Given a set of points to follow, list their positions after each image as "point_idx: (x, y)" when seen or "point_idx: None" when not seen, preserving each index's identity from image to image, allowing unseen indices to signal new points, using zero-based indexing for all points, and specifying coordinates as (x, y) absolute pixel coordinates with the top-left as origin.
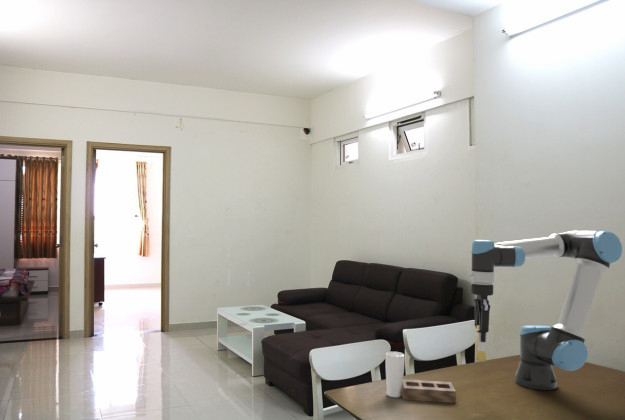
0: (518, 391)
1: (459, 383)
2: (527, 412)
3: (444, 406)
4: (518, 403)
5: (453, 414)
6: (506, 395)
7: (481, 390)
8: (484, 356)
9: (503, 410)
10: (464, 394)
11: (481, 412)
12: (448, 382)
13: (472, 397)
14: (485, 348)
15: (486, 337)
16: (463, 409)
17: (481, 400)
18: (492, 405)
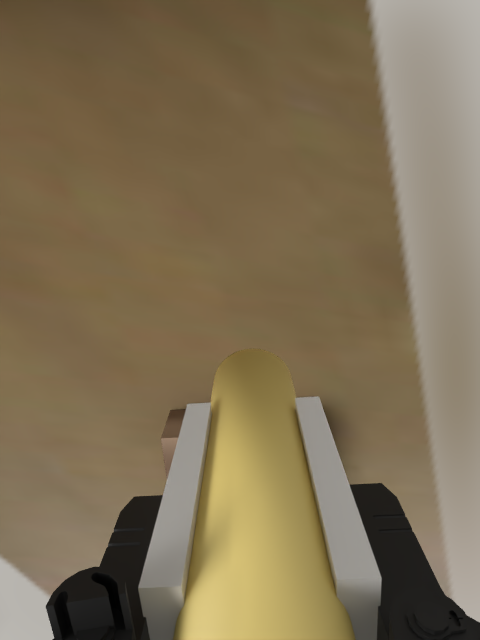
0: (16, 43)
1: (11, 355)
2: (353, 78)
3: (345, 448)
4: (227, 96)
5: (428, 425)
6: (115, 138)
7: (80, 262)
8: (286, 380)
9: (347, 204)
10: (170, 352)
11: (389, 312)
12: (172, 449)
13: (202, 322)
14: (325, 421)
15: (355, 507)
16: (366, 381)
17: (232, 286)
18: (289, 245)
